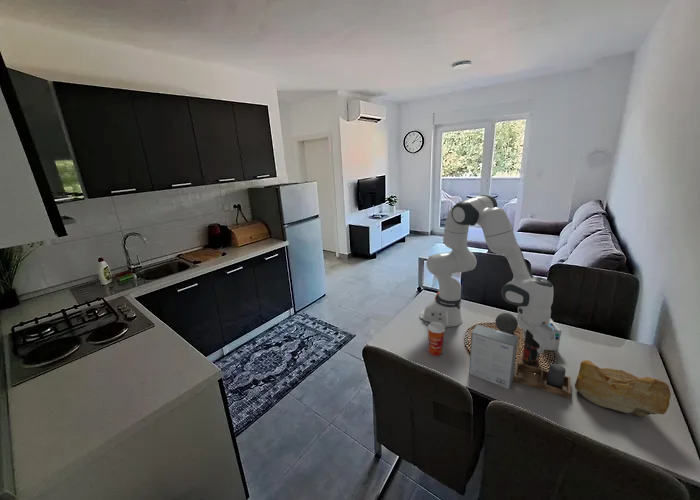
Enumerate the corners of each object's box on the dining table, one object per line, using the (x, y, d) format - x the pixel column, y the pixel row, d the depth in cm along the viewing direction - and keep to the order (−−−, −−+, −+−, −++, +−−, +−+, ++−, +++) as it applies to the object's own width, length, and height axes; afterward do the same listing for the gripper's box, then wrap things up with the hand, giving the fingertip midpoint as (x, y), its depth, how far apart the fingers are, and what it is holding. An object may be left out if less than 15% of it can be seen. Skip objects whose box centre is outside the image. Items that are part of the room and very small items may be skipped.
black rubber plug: (546, 387, 112) (549, 370, 109) (546, 379, 116) (549, 362, 113) (562, 392, 109) (565, 374, 107) (562, 383, 113) (565, 366, 111)
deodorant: (524, 355, 130) (528, 326, 126) (539, 361, 126) (544, 331, 122) (520, 362, 126) (524, 332, 122) (535, 368, 122) (540, 337, 118)
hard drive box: (514, 379, 118) (519, 336, 112) (509, 390, 112) (514, 346, 106) (474, 363, 127) (477, 323, 121) (467, 373, 122) (471, 332, 116)
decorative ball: (498, 324, 155) (500, 307, 152) (519, 330, 148) (521, 313, 145) (491, 332, 149) (493, 314, 146) (512, 339, 142) (515, 321, 139)
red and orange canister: (423, 352, 136) (424, 326, 132) (431, 344, 142) (432, 319, 137) (439, 359, 131) (440, 332, 127) (447, 351, 136) (448, 324, 132)
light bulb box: (558, 351, 132) (562, 330, 129) (541, 350, 133) (545, 329, 130) (548, 337, 142) (551, 317, 139) (532, 336, 143) (535, 317, 140)
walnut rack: (513, 381, 116) (513, 375, 115) (515, 367, 124) (516, 361, 123) (569, 400, 106) (570, 393, 105) (568, 383, 114) (570, 377, 113)
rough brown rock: (662, 406, 103) (671, 368, 99) (663, 434, 91) (674, 392, 88) (579, 376, 119) (585, 343, 116) (571, 398, 107) (577, 361, 104)
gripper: (562, 329, 109) (557, 361, 113) (529, 304, 129) (526, 332, 133) (545, 330, 109) (541, 362, 113) (515, 305, 129) (512, 332, 133)
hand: (532, 345), depth 123 cm, fingers open, 8 cm apart
